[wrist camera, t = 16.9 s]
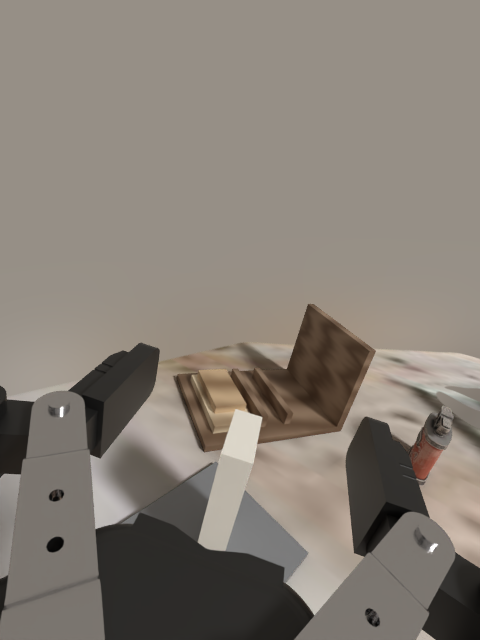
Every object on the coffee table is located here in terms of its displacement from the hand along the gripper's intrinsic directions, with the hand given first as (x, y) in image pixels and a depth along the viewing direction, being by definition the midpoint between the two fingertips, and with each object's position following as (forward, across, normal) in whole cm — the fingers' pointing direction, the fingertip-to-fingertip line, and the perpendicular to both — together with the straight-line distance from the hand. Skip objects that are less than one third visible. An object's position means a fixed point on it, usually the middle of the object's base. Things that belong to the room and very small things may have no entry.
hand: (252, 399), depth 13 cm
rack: (+35, -1, +27) cm, 44 cm away
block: (+11, 0, +26) cm, 28 cm away
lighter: (+32, -26, +26) cm, 49 cm away
